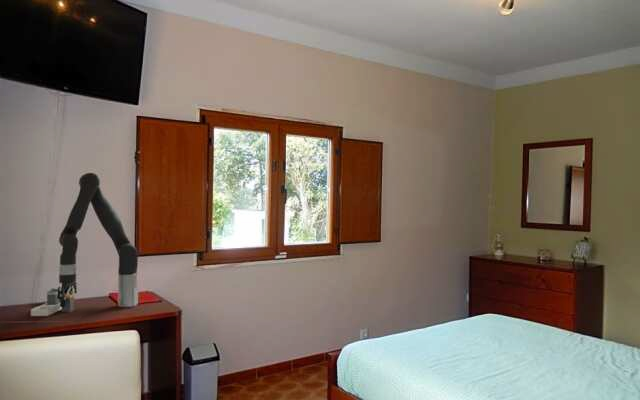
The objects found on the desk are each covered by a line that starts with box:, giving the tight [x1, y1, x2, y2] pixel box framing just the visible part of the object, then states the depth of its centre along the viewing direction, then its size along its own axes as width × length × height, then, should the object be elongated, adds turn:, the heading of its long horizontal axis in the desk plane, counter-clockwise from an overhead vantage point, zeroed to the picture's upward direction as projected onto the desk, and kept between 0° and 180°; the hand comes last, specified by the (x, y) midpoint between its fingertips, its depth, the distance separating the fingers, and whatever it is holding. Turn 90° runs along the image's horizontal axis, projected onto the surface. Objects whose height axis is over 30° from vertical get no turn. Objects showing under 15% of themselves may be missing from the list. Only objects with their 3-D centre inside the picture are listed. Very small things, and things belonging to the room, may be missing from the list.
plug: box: [61, 294, 75, 313], centre depth 227 cm, size 4×4×9 cm
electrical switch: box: [46, 287, 60, 302], centre depth 243 cm, size 9×5×9 cm, turn 57°
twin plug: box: [46, 290, 59, 305], centre depth 230 cm, size 4×4×9 cm
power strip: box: [30, 302, 62, 317], centre depth 225 cm, size 8×16×4 cm, turn 3°
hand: (67, 305), depth 227 cm, fingers open, 8 cm apart
